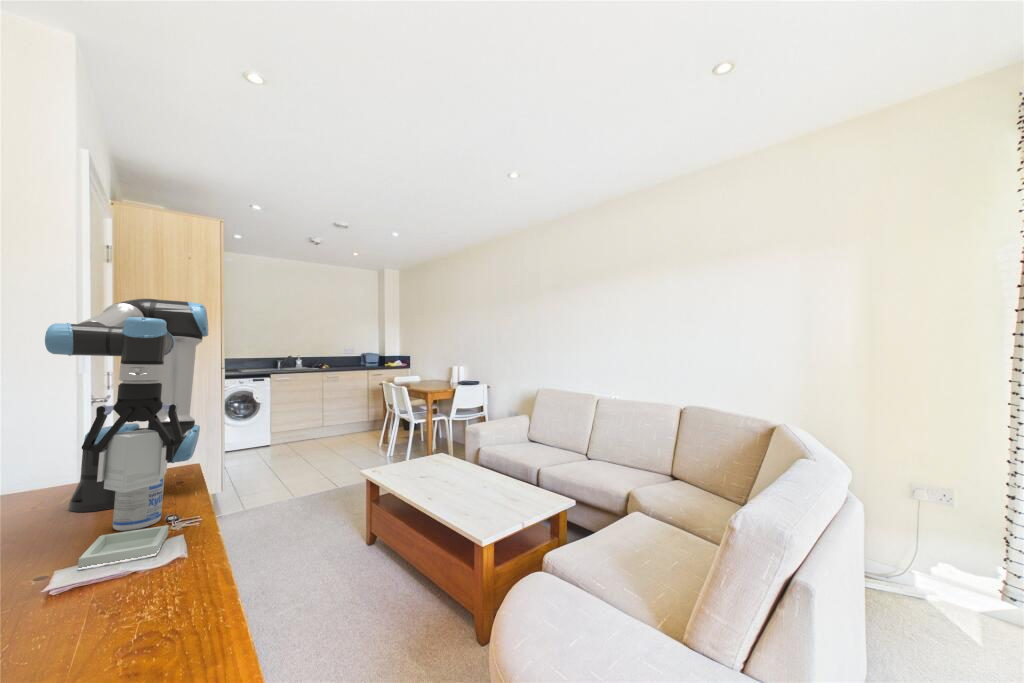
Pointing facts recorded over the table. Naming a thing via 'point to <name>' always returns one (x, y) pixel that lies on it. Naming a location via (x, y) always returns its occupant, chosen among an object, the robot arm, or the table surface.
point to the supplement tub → (138, 507)
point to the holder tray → (124, 546)
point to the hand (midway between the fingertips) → (133, 476)
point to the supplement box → (133, 460)
